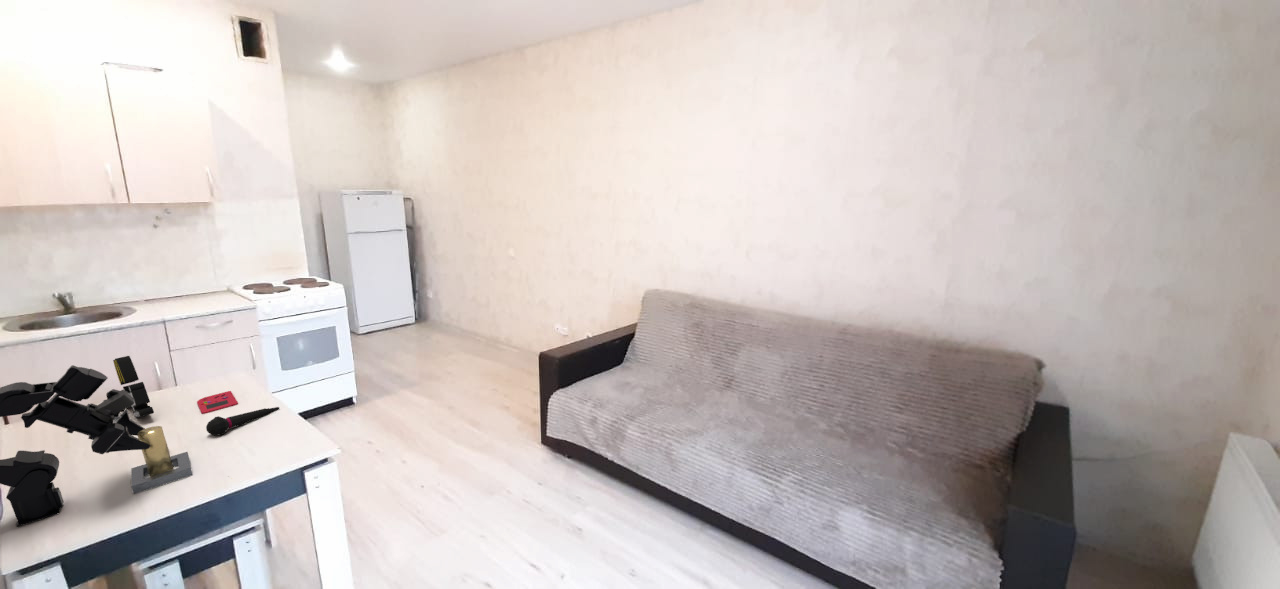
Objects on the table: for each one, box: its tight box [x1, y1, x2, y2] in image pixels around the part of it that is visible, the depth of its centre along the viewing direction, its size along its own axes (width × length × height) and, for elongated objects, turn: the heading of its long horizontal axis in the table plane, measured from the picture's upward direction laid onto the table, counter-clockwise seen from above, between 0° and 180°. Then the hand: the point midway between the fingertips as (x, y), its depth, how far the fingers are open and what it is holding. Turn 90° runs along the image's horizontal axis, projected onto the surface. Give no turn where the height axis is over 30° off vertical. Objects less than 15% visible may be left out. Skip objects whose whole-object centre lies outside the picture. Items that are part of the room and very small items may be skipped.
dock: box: [130, 451, 193, 495], centre depth 130 cm, size 11×11×2 cm
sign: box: [112, 355, 155, 419], centre depth 163 cm, size 22×3×20 cm, turn 53°
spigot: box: [137, 425, 175, 477], centre depth 129 cm, size 5×5×13 cm
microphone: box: [205, 406, 280, 436], centre depth 157 cm, size 6×6×20 cm
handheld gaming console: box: [196, 390, 239, 415], centre depth 172 cm, size 10×1×15 cm
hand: (149, 440), depth 127 cm, fingers open, 9 cm apart
